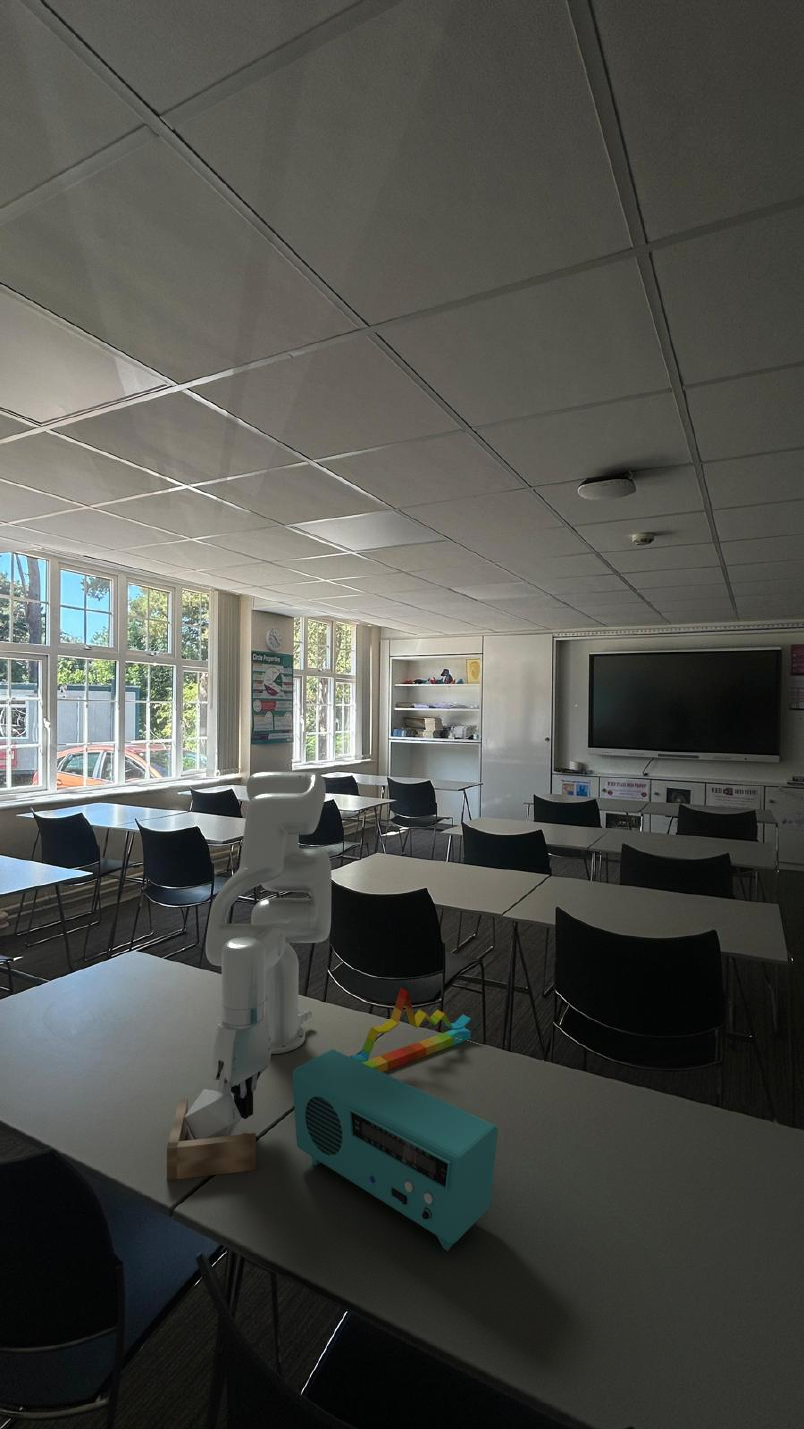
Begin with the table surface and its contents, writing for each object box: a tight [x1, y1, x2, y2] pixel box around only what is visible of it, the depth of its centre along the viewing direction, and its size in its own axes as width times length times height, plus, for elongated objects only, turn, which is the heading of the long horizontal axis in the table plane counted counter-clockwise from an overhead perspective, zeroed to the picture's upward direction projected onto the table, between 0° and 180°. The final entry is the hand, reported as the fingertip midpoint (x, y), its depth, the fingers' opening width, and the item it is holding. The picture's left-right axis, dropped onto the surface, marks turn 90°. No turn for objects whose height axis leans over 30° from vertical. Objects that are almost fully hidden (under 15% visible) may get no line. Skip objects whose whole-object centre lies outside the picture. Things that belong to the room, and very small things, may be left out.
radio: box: [291, 1049, 499, 1252], centre depth 102 cm, size 34×10×15 cm, turn 50°
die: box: [184, 1088, 242, 1140], centre depth 115 cm, size 8×9×10 cm
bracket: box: [166, 1098, 257, 1181], centre depth 109 cm, size 11×19×5 cm, turn 56°
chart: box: [349, 987, 472, 1073], centre depth 143 cm, size 30×3×15 cm, turn 126°
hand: (243, 1114), depth 118 cm, fingers closed
